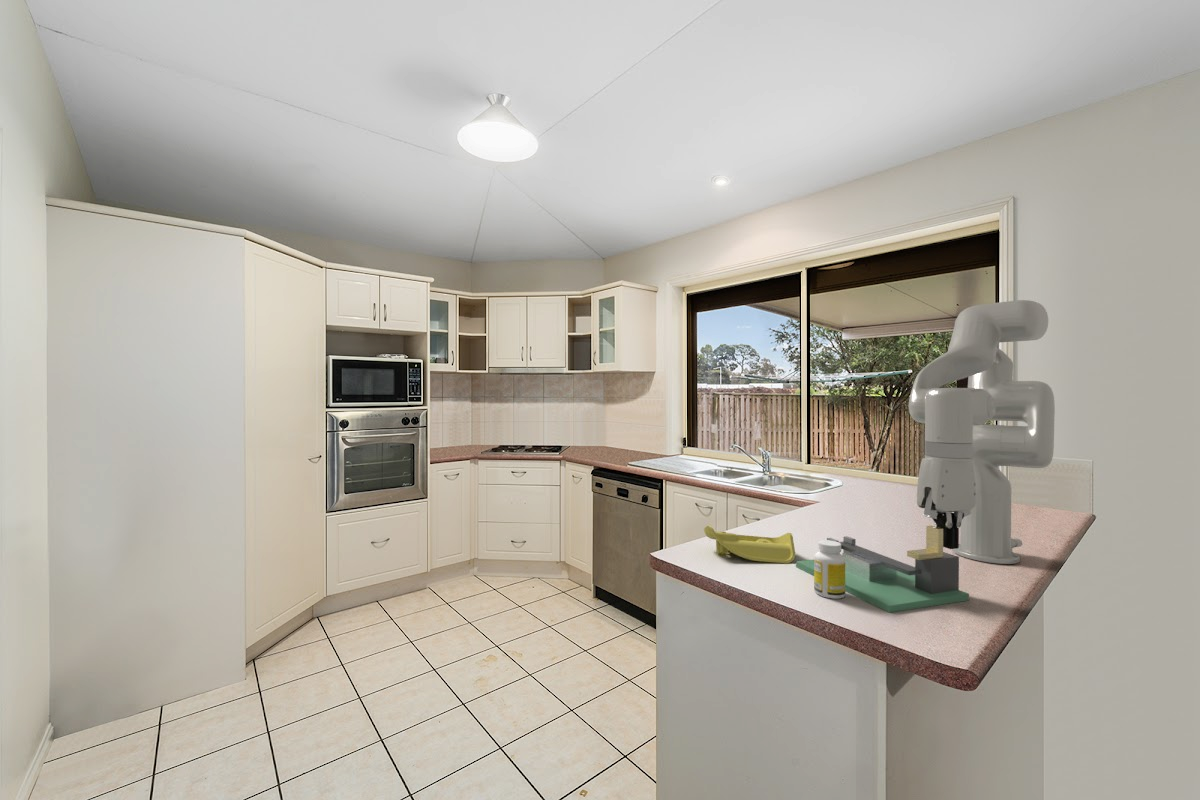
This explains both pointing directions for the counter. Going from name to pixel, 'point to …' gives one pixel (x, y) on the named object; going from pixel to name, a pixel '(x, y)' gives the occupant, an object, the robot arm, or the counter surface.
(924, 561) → the block
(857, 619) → the counter surface
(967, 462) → the robot arm
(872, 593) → the board
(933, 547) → the bracket
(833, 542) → the supplement bottle
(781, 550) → the plastic component
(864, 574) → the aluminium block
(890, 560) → the dark grey flat bar
